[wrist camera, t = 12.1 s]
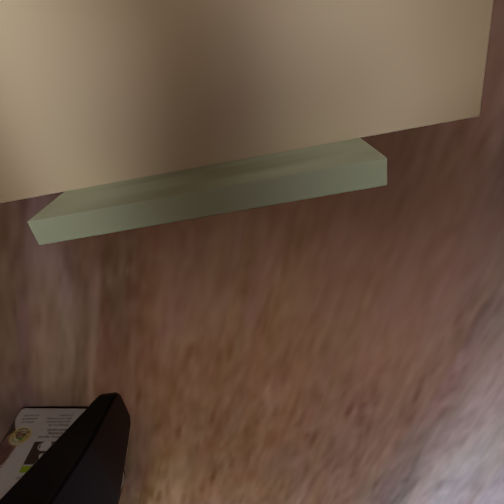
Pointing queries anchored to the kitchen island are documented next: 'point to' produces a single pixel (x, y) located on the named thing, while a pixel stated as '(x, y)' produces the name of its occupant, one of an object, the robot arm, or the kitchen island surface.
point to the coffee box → (32, 441)
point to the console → (219, 101)
